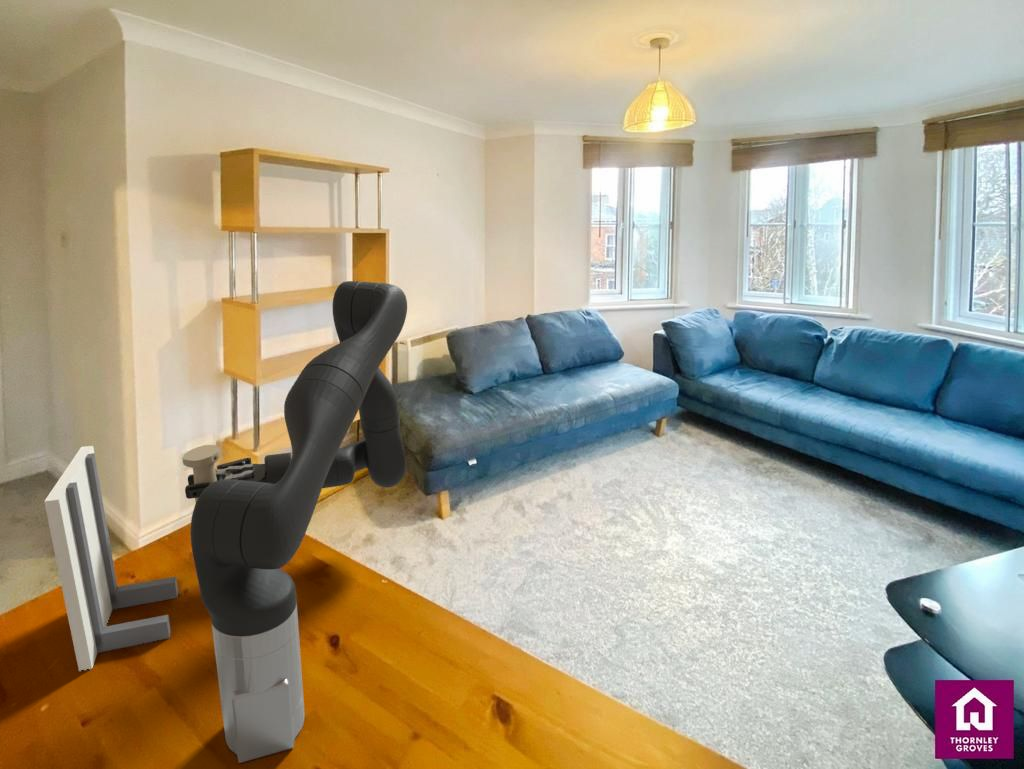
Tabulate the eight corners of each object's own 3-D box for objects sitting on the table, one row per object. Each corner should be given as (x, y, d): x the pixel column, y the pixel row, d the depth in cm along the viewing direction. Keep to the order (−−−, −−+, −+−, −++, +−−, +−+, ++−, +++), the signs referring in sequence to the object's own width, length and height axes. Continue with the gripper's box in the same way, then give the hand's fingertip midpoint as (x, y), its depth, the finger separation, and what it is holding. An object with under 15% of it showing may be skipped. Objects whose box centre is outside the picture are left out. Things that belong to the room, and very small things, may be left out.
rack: (166, 653, 85) (141, 489, 78) (79, 671, 81) (44, 501, 74) (180, 580, 101) (160, 439, 94) (107, 593, 97) (81, 446, 90)
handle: (187, 538, 102) (175, 458, 98) (211, 519, 108) (201, 443, 104) (213, 541, 102) (202, 461, 97) (235, 522, 108) (226, 446, 103)
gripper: (290, 439, 113) (188, 450, 106) (294, 470, 100) (179, 485, 94) (293, 475, 115) (193, 488, 109) (298, 509, 103) (185, 527, 96)
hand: (187, 486), depth 101 cm, fingers closed on handle, 3 cm apart
